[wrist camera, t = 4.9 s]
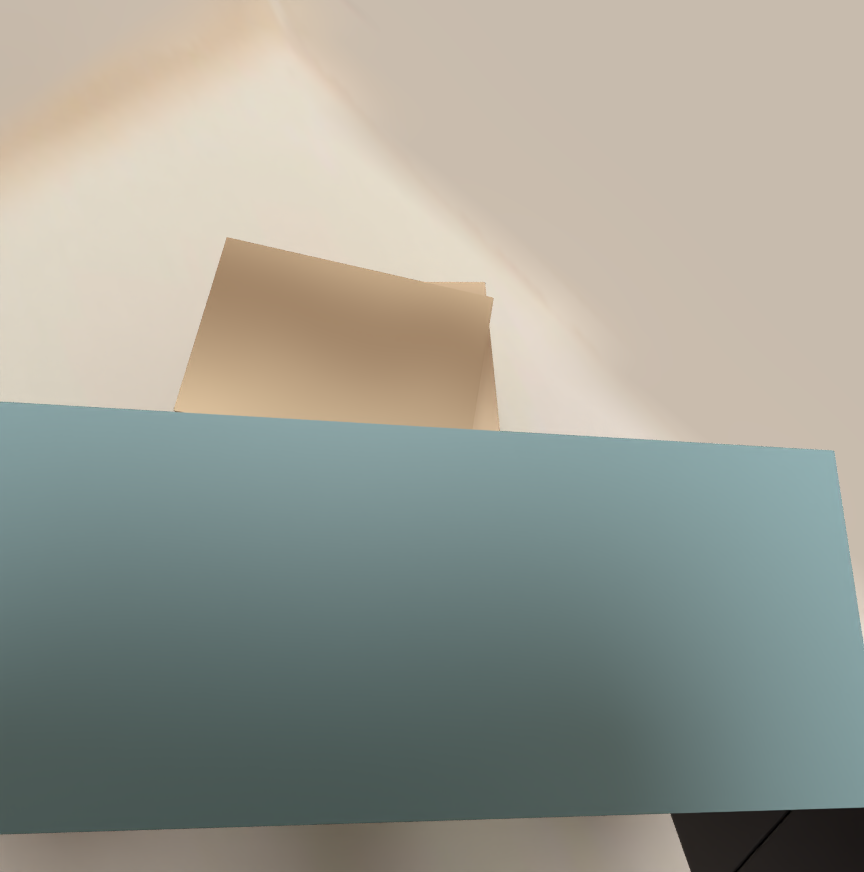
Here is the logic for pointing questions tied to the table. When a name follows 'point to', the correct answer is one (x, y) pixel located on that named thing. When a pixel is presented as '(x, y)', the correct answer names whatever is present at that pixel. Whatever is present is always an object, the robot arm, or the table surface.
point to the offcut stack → (340, 345)
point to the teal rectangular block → (414, 624)
